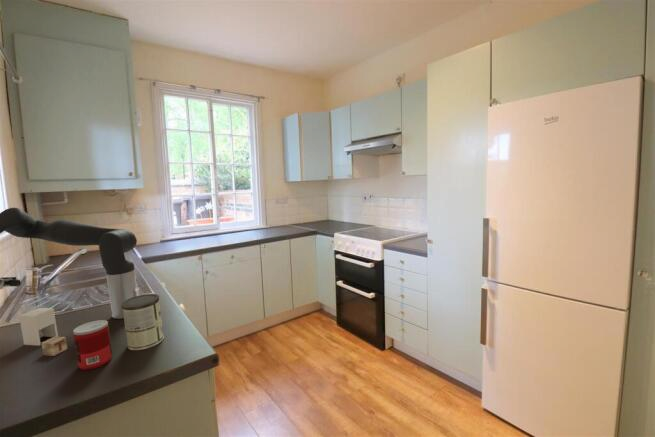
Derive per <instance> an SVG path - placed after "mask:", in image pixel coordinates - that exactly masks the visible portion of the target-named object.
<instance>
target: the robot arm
mask: <svg viewBox="0 0 655 437" xmlns="http://www.w3.org/2000/svg"><path fill="white" fill-rule="evenodd" d="M4 232H6V233H8V234H10V235H12V236H14V237H18V238H23V239H24V238H25V239H37V240H44V241H47V242H52V243H56V244H61V245H66V246H74V247H75V246H76V247H77V246H78V247H80V246H81V247H83V246H84V247H85V246H86V247H87V246H98V249H99V254H100V260H101V265H102V267H103V268H104V270H105V273H106V280H107V281H106V282H107V288H108V295H109V296H108V297H109V302H110V309H111V317H112V318H113V319H118V320H119V319H124V317H123V310H122V306H121V304H122V302H124V301H125V300H127V299H130V298H132V297H136V296H140V293H139V292H140V291H139V286H138V285H137V277H136V270H135V269H136V268H135V263H134V262H133V261H130V260H129V261H128V260H126V257H125V253H127V252H130V251H132V250H133V249H134V248H135V247H136V245H137V242H138V239H137V236H136V235H135V234H134V233H133V232H132V231H130V230H129V229H125V228H111V227H102V226H96V225H92V224H88V223H83V222H78V221H72V220H66V219H58V220H55V221H54V220H53V221H52V222H48V221H44V220H40V219H37V218H35V217H33V216H32V215H30V214H29V213H27V212H26V211H24V210H22V209H21V208H18V207H8V208H6V209H5V210H3V211H0V234H2V233H4ZM21 285H22V284H21V280H20V279H17V276H7V277H6V276H5V277H0V290H2V289H4V288H7V287H20V286H21Z"/></svg>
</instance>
